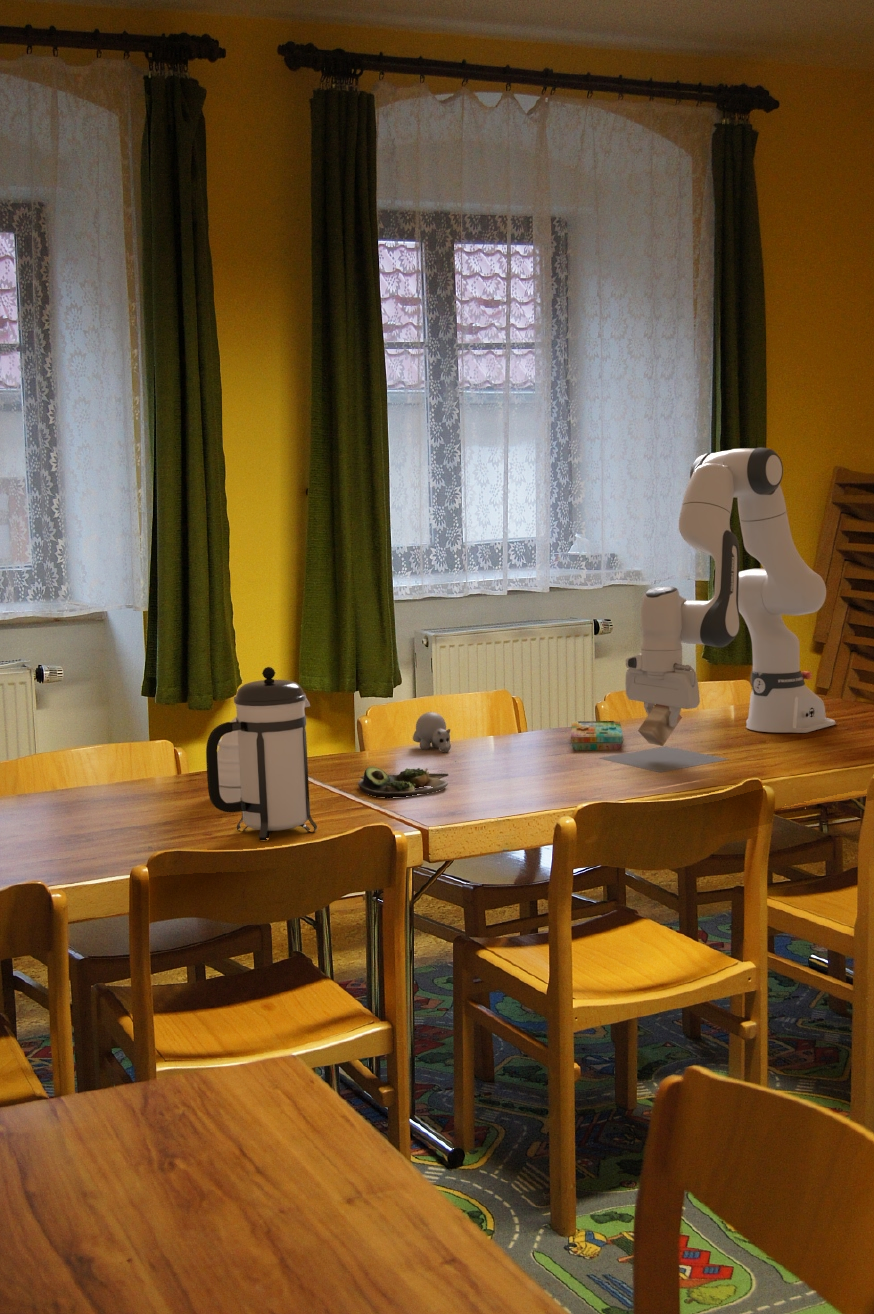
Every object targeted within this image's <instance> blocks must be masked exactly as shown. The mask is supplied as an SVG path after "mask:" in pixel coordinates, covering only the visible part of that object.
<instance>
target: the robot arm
mask: <svg viewBox="0 0 874 1314" xmlns="http://www.w3.org/2000/svg"><path fill="white" fill-rule="evenodd" d="M783 476H784V465H783V461H782V459H781V457H780V455H779V454H777V452H776V451H775V450H774V449H771V448H767V447H761V446H760V447H756V448H748V447H747V448H745V447H744V448H732V449H728V450H722V451H718V452H708V453H704V454H702V455H699V456H698V457H697V458H696V459H695V460H694V462H693V464H692V465H691V467H690V472H689V482H688V484H687V485H686V490H685V493H684V496H683V500H682V504H681V508H680V512H679V517H678V518H679V519H678V530H679V534H680V535H681V538H682V539H683V540H684V541H685V542H686V544H688V545H689V546H690V547H692V548H694V549H695V550H697V551H699V552H702V553H703V554H706V555H709V556H710V557H712V559H713V560H714V565H715V570H714V571H715V573H714V591H713V592H714V594H713V597H712V598H711V599H709V600H692V599H687V598H684V597H682V595H680V592H679V589H678V588H677V587H674V586H665V585H664V586H657V587H652V588H649V589H648V590H647V591H644V593H643V597H642V602H641V607H640V608H641V610H640V631H641V634H642V641H641V645H640V653H638V654H636V655H634V656H631V657H626V659H625V667H626V668H627V669H626V672H625V681H624V682H625V694H626V697H627V699H628V700H631V701H635V702H642V703H643V708H644V710H645V713H646V714H647V716H648V715H649V713H650V712H651V711H652V709H653V708H654V706H655V705H656V704H659V705H665V706H669V711H671V714H670V717H669V718H666V722H667V723H666V725H667V726H670V727H675V726H676V727H677V726H678V724H677V718H678V716H679V714H680V713H681V712H682V709H683V710H684V709H685V710H690V709H691V710H692V709H696V708H698V707H699V705H700V704H701V703H700V698H701V697H700V689H699V681H698V678H697V672H696V671H695V669H693V667H692V665H689V664H683V646H682V643H683V644H690V645H705V646H709V647H716V648H724V647H726V646H728V645H729V644H731V642H733V641H734V640H735V638H736V637H737V635H738V634H739V632H740V626H741V619H740V618H741V617H740V615H741V616H742V618H743V620H744V622H745V624H746V627H747V628H748V632H749V635H750V639H751V649H752V650H751V651H752V670H751V673H750V686H751V688H752V689H751V692H750V697H749V699H750V700H749V707H748V708H749V709H748V716H747V717H748V718H747V719H746V726H745V727H746V729H748V730H750V731H755V732H765V733H796V734H799V733H800V734H801V733H802V734H804V733H805V734H807V733H810V732H813V731H816V730H820V729H825V728H828V727H830V726H831V727H832V726H834V725H836V721H835V720H836V719H835V720H834V719H832V718H829V717H826V707H825V703H824V701H823V699H822V698H821V697H819V695H817V694H816V693H814V691H812V690H811V689H810V688H809V687H808V686H806V682H805V680H808V681H810V680H811V679H812V678H813V673H812V671H809V670H808V671H806V670H804V671H801V670H800V668H801V667H800V666H801V665H800V659H801V658H800V657H801V656H800V653H801V652H800V651H801V650H800V646H801V645H800V639H799V638H798V636H797V635H796V634H795V633H794V632H793V631H791V630H790V629H789V628H788V627H787V626H786V624H785V621H784V620H783V616H782V615H787V616H803V615H809V614H812V613H813V614H815V613H816V612H818V611H819V610H820V609H821V608H822V607H823V605H824V604H825V601H826V597H827V588H826V587H827V586H826V584H825V580H824V579H823V577H822V576H821V575H820V574H818V573H817V572H815V571H814V570H813V569H812V568H810V566H808V564H807V563H806V562H805V560H804V559H803V558H802V556H801V555H800V553H799V552H798V549H797V547H796V545H795V543H794V540H793V537H792V531H791V528H790V522H789V517H788V510H787V504H786V499H785V496H784V493H783V488H782V487H781V482H782V480H783ZM734 498H737V510H738V516H739V517H738V518H739V523H740V524H739V525H740V529H741V535H742V540H743V546H744V550H745V551H746V553H748V554H749V555H750V556H751V557H753V558H754V559H756V560H757V561H758V562H759V563H760V564H761V566H762V568H750V569H745V570H741V571H740V545H739V540H738V536H737V535H736V534H735V533H733V532H732V530H731V521H730V520H731V515H732V510H733V501H734ZM680 715H681V714H680ZM676 727H675V728H676Z"/></svg>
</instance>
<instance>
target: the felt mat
mask: <svg viewBox="0 0 874 1314" xmlns="http://www.w3.org/2000/svg"><path fill="white" fill-rule="evenodd" d="M599 759H600V760H605V761H608V762H609V761H610V762H613V763H616V764H617V763H618V764H620V765H621V764H623V765H627V766H629V767H630V766H631V767H635V768H639V769H643V770H647V771H652V772H656V773H664V772H665V773H666V772H671V771H676V770H680V769H687V768H692V767H697V766H702V765H708V764H712V763H719V762H723V761H728V760H730V759H729V758H724V757H720V756H716V755H715V756H714V755H710V754H705V753H700V752H696V751H690V750H686V749H681V748H676V747H672V746H667V745H666V746H660V747H655V748H649V749H642V750H637V751H632V752H631V751H630V752H625V753H620V754H614V755H609V756H603V757H599Z"/></svg>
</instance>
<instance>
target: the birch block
mask: <svg viewBox="0 0 874 1314" xmlns="http://www.w3.org/2000/svg"><path fill="white" fill-rule="evenodd" d="M670 714H671V711H669V706H665V705H659V704H655V706H654V708H653V709H652V711H651V712H650V713H649V715H647V717H646V718H645V719H644V721H643V722H642V723H641V725H640V727H639V728H638V730H637V731H638V733H639V734H640V735H641V736H642V737H643V738H644V739H645V740H646V741H647V743H648V744H652V745H656V746H660V747H664V745H665V744H666V743H667V741H668V739H669V738H670V737H671V735H672V734H673V732H674V730H675V729H676V728H677V726H675V727H670V726H667V725H666V723H667V722H666V718H669V717H670ZM682 718H683V717H682V715H681V714H679V716H678V718H677V725H678V724H679V723H680V722H681V720H682Z"/></svg>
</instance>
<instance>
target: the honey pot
mask: <svg viewBox="0 0 874 1314" xmlns="http://www.w3.org/2000/svg"><path fill="white" fill-rule="evenodd" d="M236 718H237V715H236V716H235V717H234V718H233V719H232V720H230V722H236ZM217 747H218V748H217V759H218V777H219V792H220V796H221V798H222V800H223V801H224V802H227V803H233V802H239V801H241V800H240V798H241V783H240V764H239V746H238V730H237V731H232V732H229V733H226V734H224V735H223V736H222V737H221V739H220V740H219V743H218V746H217Z"/></svg>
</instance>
